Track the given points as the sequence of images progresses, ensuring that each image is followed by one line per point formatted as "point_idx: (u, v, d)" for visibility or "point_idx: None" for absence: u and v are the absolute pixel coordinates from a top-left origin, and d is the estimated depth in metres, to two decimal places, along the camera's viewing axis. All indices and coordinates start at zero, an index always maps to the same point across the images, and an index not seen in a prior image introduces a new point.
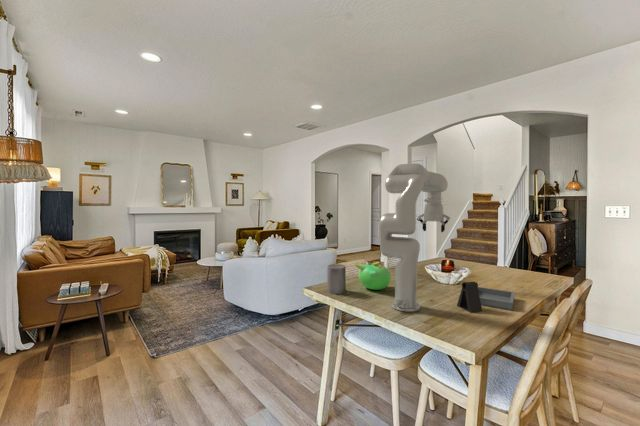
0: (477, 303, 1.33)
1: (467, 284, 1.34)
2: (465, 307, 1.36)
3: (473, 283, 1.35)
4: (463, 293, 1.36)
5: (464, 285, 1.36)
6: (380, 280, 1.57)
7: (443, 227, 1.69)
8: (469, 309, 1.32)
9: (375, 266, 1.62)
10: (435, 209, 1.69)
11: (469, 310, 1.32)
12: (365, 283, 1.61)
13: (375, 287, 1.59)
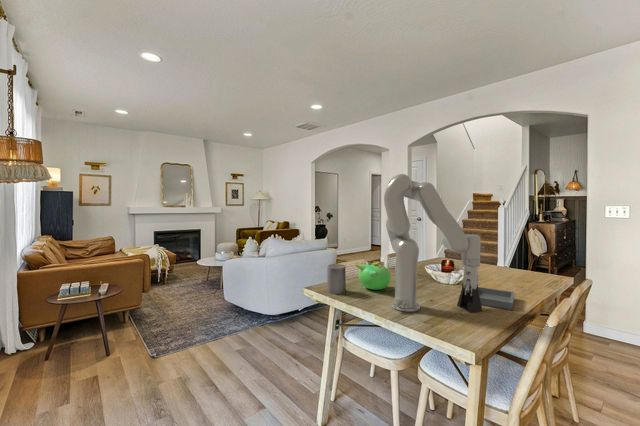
0: (478, 303, 1.33)
1: None
2: (465, 307, 1.36)
3: None
4: (463, 293, 1.36)
5: None
6: (380, 280, 1.57)
7: None
8: (469, 309, 1.32)
9: (375, 266, 1.62)
10: (477, 272, 1.35)
11: (469, 310, 1.32)
12: (365, 283, 1.61)
13: (375, 287, 1.59)
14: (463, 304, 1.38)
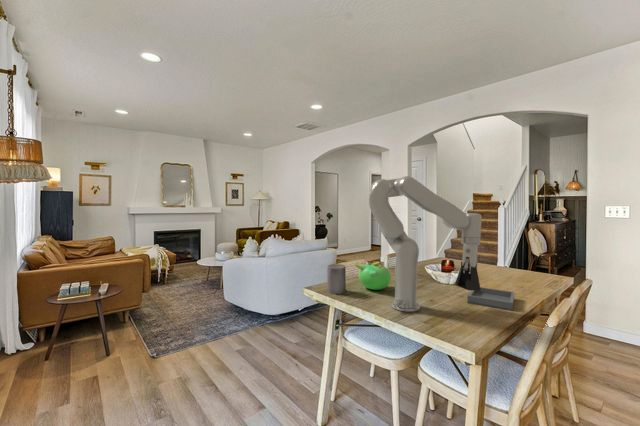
0: (476, 281, 1.32)
1: None
2: (463, 286, 1.36)
3: None
4: (462, 272, 1.36)
5: None
6: (380, 280, 1.57)
7: None
8: (467, 287, 1.31)
9: (375, 266, 1.62)
10: (477, 251, 1.34)
11: (467, 288, 1.31)
12: (365, 283, 1.61)
13: (375, 287, 1.59)
14: (461, 283, 1.38)
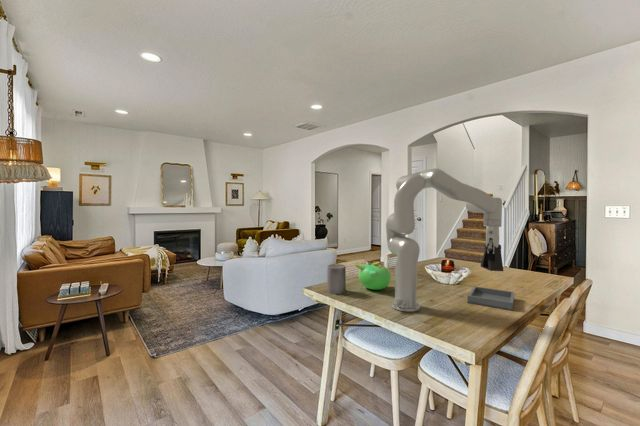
0: (499, 263, 1.42)
1: None
2: (487, 267, 1.46)
3: None
4: (486, 254, 1.46)
5: None
6: (380, 280, 1.57)
7: None
8: (489, 268, 1.42)
9: (375, 266, 1.62)
10: None
11: (489, 268, 1.42)
12: (365, 283, 1.61)
13: (375, 287, 1.59)
14: (486, 265, 1.48)
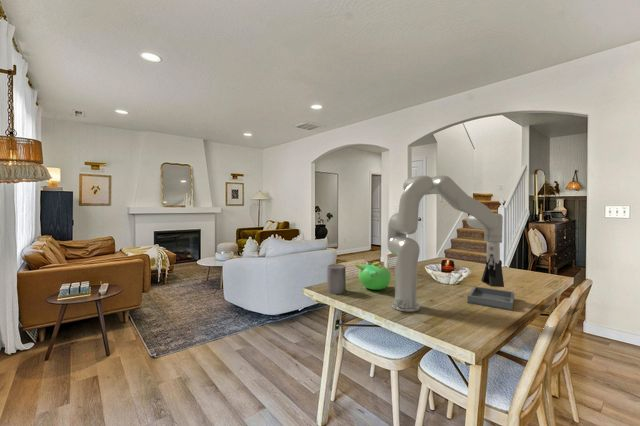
0: (500, 279, 1.43)
1: None
2: (488, 282, 1.47)
3: None
4: (487, 269, 1.47)
5: None
6: (380, 280, 1.57)
7: None
8: (490, 283, 1.43)
9: (375, 266, 1.62)
10: None
11: (490, 284, 1.43)
12: (365, 283, 1.61)
13: (375, 287, 1.59)
14: (487, 280, 1.49)
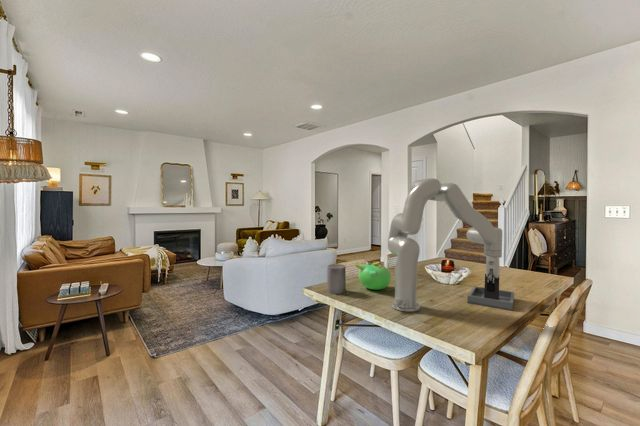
0: (494, 294, 1.43)
1: None
2: None
3: None
4: None
5: None
6: (380, 280, 1.57)
7: None
8: (484, 297, 1.45)
9: (375, 266, 1.62)
10: None
11: None
12: (365, 283, 1.61)
13: (375, 287, 1.59)
14: None
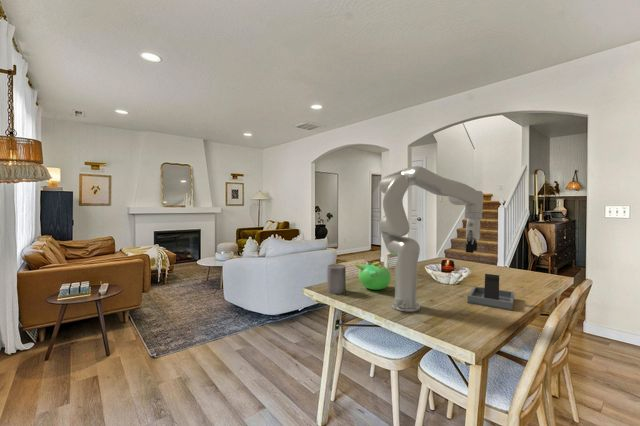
0: (494, 294, 1.43)
1: (486, 275, 1.46)
2: None
3: (494, 276, 1.45)
4: None
5: None
6: (380, 280, 1.57)
7: None
8: (484, 297, 1.45)
9: (375, 266, 1.62)
10: (479, 225, 1.46)
11: None
12: (365, 283, 1.61)
13: (375, 287, 1.59)
14: None
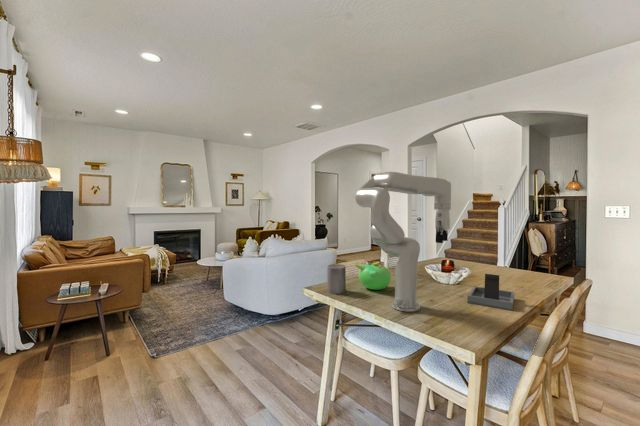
0: (494, 294, 1.43)
1: (486, 275, 1.46)
2: None
3: (494, 276, 1.45)
4: None
5: None
6: (380, 280, 1.57)
7: None
8: (484, 297, 1.45)
9: (375, 266, 1.62)
10: (448, 216, 1.48)
11: None
12: (365, 283, 1.61)
13: (375, 287, 1.59)
14: None
